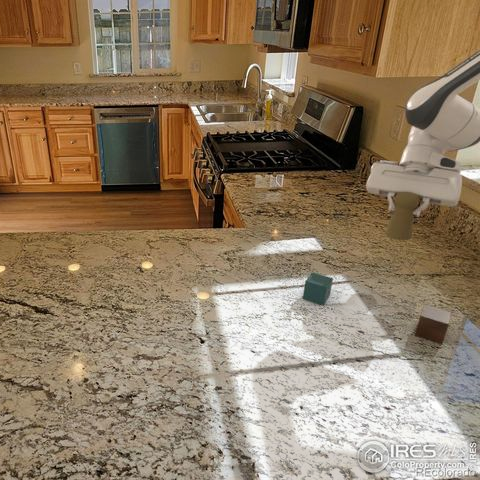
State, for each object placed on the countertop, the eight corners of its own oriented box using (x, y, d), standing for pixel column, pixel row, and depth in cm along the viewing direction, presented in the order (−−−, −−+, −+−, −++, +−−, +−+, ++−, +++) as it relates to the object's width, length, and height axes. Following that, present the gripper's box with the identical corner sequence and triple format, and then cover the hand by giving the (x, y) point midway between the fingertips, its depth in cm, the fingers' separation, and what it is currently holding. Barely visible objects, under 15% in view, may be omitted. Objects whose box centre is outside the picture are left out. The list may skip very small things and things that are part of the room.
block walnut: (414, 335, 90) (420, 315, 87) (418, 323, 93) (423, 304, 91) (442, 344, 87) (449, 324, 85) (444, 331, 91) (451, 312, 88)
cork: (381, 235, 106) (390, 193, 101) (389, 227, 110) (398, 187, 105) (407, 242, 102) (419, 199, 98) (415, 234, 106) (426, 192, 102)
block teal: (302, 298, 102) (305, 280, 100) (309, 289, 106) (312, 272, 104) (323, 305, 100) (326, 287, 97) (329, 295, 103) (333, 278, 101)
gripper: (374, 152, 109) (357, 199, 106) (469, 164, 98) (454, 216, 95) (374, 165, 114) (358, 210, 111) (465, 177, 103) (450, 228, 100)
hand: (403, 213), depth 103 cm, fingers closed on cork, 4 cm apart
